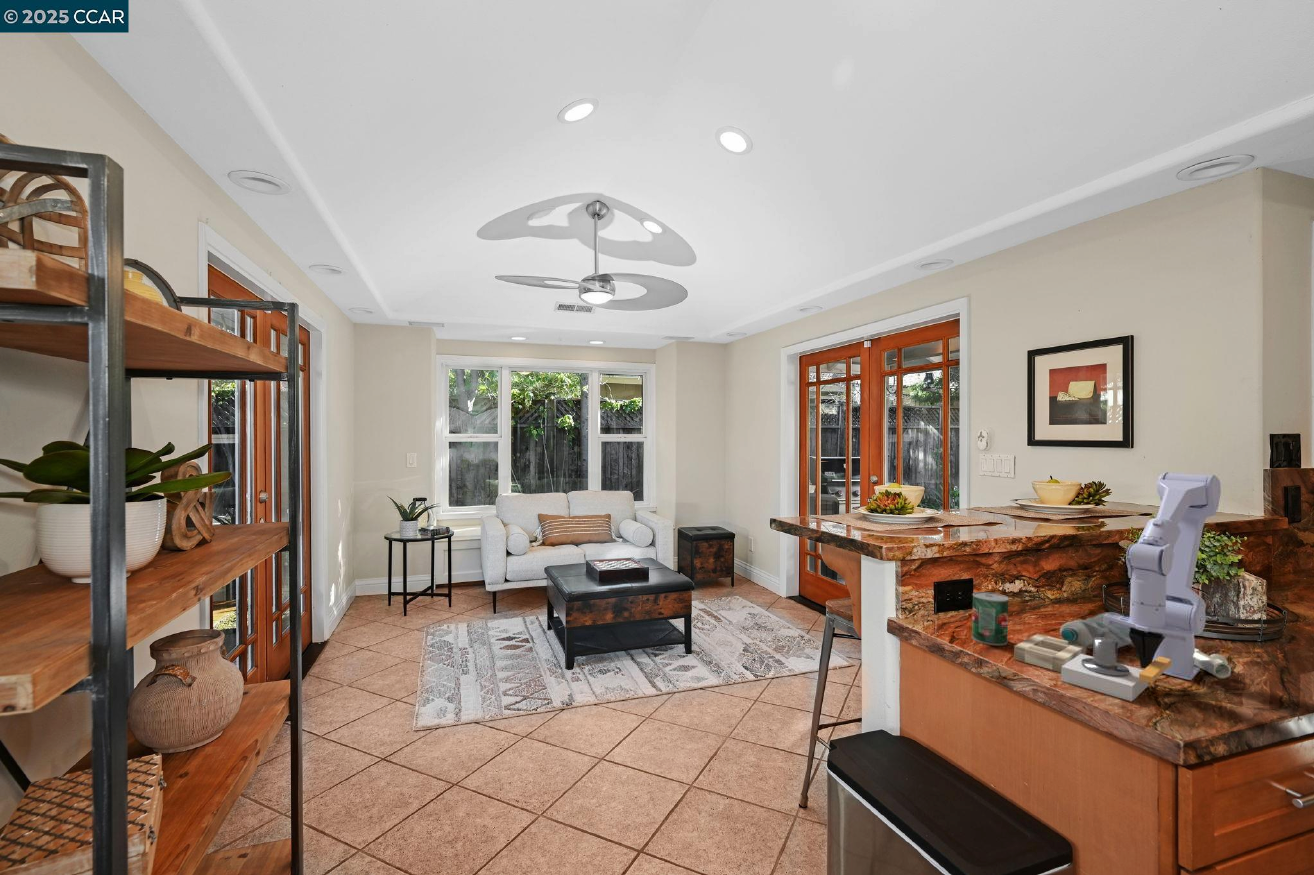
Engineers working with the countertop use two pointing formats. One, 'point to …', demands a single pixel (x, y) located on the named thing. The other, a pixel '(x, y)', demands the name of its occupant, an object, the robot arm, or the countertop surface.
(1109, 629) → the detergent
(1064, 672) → the socket block
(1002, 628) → the canned tomato
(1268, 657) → the countertop surface
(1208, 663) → the pipe fitting
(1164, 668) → the bar
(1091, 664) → the glossy grey dome knob
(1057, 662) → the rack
